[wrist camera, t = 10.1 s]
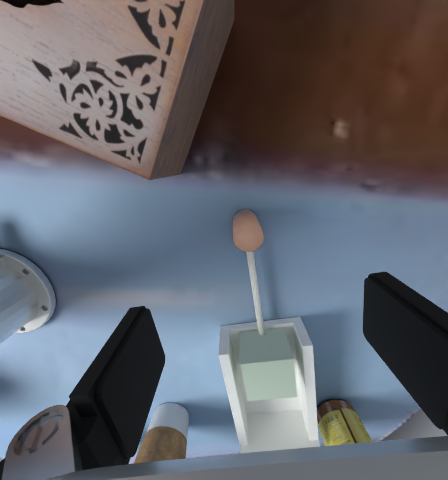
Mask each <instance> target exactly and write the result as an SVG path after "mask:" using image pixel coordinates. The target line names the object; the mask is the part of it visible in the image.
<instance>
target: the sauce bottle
mask: <svg viewBox="0 0 448 480" xmlns="http://www.w3.org/2000/svg"><path fill="white" fill-rule="evenodd" d="M317 421H318V424H319V429H320V432H321V435H322V437H323V440H324V443H325V446H331V445H342V444H355V443H367V442H372V440H371V438H370V437H369V435H368V433H367V431H366V429H365V427H364V425H363V423H362V422H361V420H360V418H359V416H358V415H357V413H356V412H355V411H354V409H353V408H352V406H351V405H350V404H349V403H348V402H347V401H342V400H335V399H333V400H328V401H326V402H324V403H322V404H321V405H320V406H319V407H318V408H317Z"/></svg>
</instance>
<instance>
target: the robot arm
mask: <svg viewBox="0 0 448 480" xmlns="http://www.w3.org/2000/svg"><path fill="white" fill-rule="evenodd" d="M55 305H56V299H55V293H54V290H53V288H52V285H51V283H50V282H49V280H48V278H47V277H46V276H45V274H44V273H43V272H42V271H41V270H40V269H39V268H38V267H37V266H36V265H35V264H34V263H32V262H31V261H29V260H28V259H26V258H25V257H23V256H21V255H19V254H17V253H14V252H11V251H8V250H3V249H0V344H1V343H2V342H3V341H5V340H6V339H7V338H8V337H10V336H11V335H12V334H14V333H25V332H31V331H34V330H36V329H38V328H40V327H41V326H43V325H44V324H45V323H46V322H47V321H48V320H49V319H50V318H51V317H52V315H53V313H54V310H55ZM363 333H364V336H365V338H366V340H367V341H368V342H369V343H370V345H371V346H372V347H373V348H374V350H375V351H376V352H377V353H378V355H379V356H380V357H381V358H382V360H383V361H384V362H385V363H386V365H387V366H388V367H389V368H390V370H391V371H392V372H393V374H394V375H395V376H396V377H397V379H398V380H399V381H400V382H401V384H402V385H403V386H404V387H405V389H406V390H407V391H408V392H409V394H410V395H411V396H412V397H413V399H414V400H415V401H416V402H417V404H418V405H419V406H420V407H421V409H422V410H423V411H424V412H425V414H426V415H427V416H428V417H429V419H430V420H431V421H432V422H433V423H434V425H435V426H436V427H438V428H439V429H443V430H444V431H445V432H446V434H447V435H448V313H447V312H446V311H444V310H443V309H441V308H440V307H438V306H437V305H435V304H434V303H432V302H431V301H429V300H428V299H426V298H425V297H423V296H422V295H420V294H419V293H417V292H416V291H414V290H413V289H411V288H410V287H408V286H407V285H405V284H404V283H402V282H401V281H399V280H398V279H396V278H395V277H393V276H392V275H390V274H389V273H387V272H380V273H372V274H369V276H368V278H366V279H365V281H364V310H363ZM164 364H165V354H164V351H163V348H162V345H161V342H160V339H159V336H158V333H157V330H156V327H155V324H154V321H153V318H152V315H151V312H150V310H149V309H146V308H145V306H140V307H133V308H130V309H129V310H128V312H127V313H126V315H125V316H124V317H123V319H122V320H121V322H120V323H119V325H118V326H117V328H116V329H115V330H114V332H113V333H112V335H111V336H110V338H109V339H108V341H107V342H106V343H105V345H104V346H103V348H102V349H101V351H100V352H99V354H98V355H97V356H96V358H95V359H94V361H93V362H92V364H91V365H90V367H89V368H88V369H87V371H86V372H85V374H84V375H83V377H82V378H81V380H80V381H79V382H78V384H77V385H76V387H75V388H74V390H73V391H72V393H71V394H70V395H69V398H70V401H69V402H68V404H67V405H66V406H64V405H56V406H52V407H49V408H47V409H45V410H43V411H42V412H40V413H38V414H37V415H36V416H34V417H33V418H31V419H30V420H29V421H28V422H27V423H26V424H25V425H24V426H23V427H22V428H21V429H20V430H19V431H18V432H17V434H16V435H15V436H14V438H13V439H12V441H11V442H10V444H9V446H8V449H7V452H6V457H5V459H3V460H2V461H1V462H0V480H448V436H442V437H429V438H417V439H404V440H392V441H379V442H367V443H355V444H342V445H331V446H319V447H308V448H296V449H285V450H273V451H262V452H251V453H239V454H228V455H218V456H207V457H196V458H186V459H175V460H164V461H154V462H144V463H135V464H128V463H129V460H130V457H133V456H134V455H135V453H136V451H137V448H138V445H139V442H140V438H141V435H142V432H143V429H144V426H145V423H146V420H147V417H148V414H149V411H150V407H151V404H152V401H153V398H154V395H155V392H156V389H157V386H158V383H159V380H160V376H161V373H162V370H163V367H164Z"/></svg>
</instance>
